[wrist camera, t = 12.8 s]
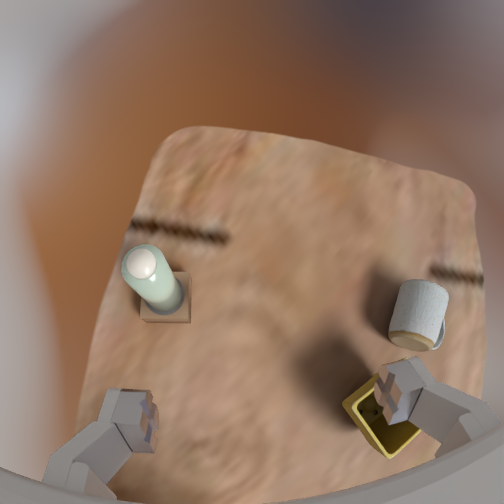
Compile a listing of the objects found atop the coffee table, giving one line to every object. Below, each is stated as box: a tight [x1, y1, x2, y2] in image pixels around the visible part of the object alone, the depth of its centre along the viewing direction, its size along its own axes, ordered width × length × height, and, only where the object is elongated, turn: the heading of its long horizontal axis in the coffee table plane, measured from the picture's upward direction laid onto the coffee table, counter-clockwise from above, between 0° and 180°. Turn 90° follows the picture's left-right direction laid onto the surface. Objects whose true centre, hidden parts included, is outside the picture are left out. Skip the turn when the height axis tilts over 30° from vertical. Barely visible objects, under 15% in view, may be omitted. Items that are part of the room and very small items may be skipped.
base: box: [140, 272, 192, 323], centre depth 38 cm, size 6×6×3 cm
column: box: [121, 244, 182, 312], centre depth 32 cm, size 4×4×11 cm
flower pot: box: [342, 357, 421, 459], centre depth 31 cm, size 9×9×9 cm
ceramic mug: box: [388, 279, 449, 351], centre depth 37 cm, size 11×8×8 cm
